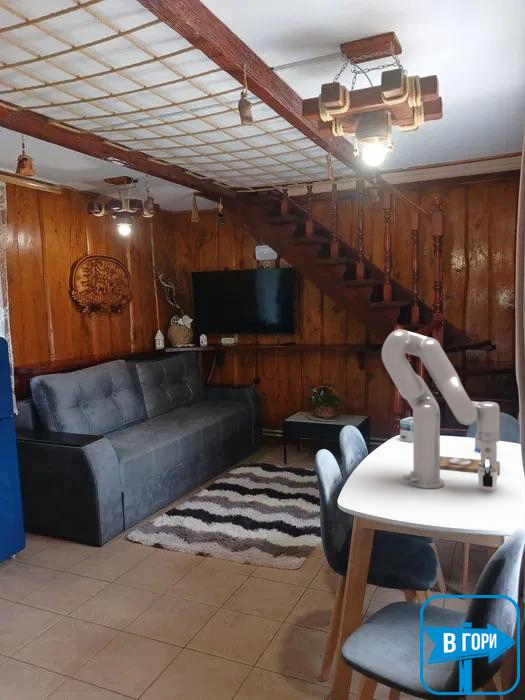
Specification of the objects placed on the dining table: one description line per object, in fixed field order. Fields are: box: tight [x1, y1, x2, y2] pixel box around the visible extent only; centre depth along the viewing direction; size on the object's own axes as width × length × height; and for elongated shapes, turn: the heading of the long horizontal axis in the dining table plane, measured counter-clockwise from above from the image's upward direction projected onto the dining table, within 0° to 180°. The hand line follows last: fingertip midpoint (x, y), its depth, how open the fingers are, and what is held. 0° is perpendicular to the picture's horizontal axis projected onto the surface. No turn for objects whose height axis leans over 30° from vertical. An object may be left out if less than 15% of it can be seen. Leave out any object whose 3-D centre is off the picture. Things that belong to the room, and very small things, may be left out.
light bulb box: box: [399, 416, 413, 444], centre depth 264 cm, size 11×7×11 cm, turn 137°
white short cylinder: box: [477, 467, 499, 492], centre depth 192 cm, size 7×7×7 cm
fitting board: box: [440, 455, 501, 476], centre depth 218 cm, size 24×14×5 cm, turn 65°
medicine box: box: [474, 432, 481, 453], centre depth 238 cm, size 8×4×9 cm, turn 25°
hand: (488, 482), depth 193 cm, fingers open, 8 cm apart
